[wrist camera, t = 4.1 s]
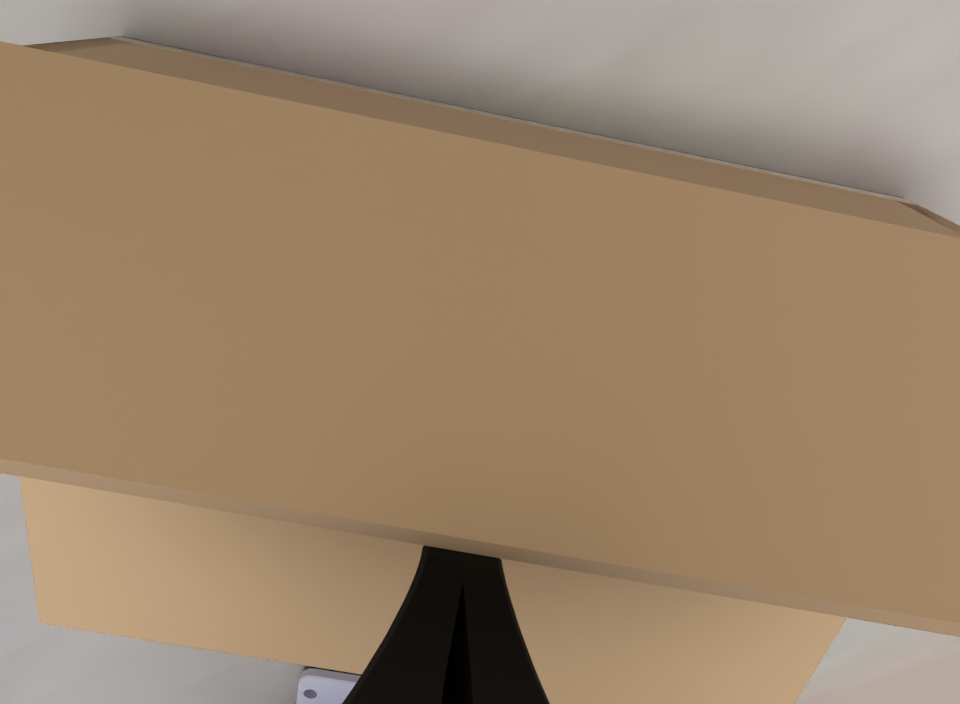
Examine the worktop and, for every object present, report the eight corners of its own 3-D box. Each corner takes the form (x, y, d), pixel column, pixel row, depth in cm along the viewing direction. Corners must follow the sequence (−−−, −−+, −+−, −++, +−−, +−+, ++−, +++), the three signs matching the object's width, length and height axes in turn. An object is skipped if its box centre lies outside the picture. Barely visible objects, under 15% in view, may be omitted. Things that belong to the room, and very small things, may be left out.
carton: (718, 589, 24) (772, 740, 19) (139, 490, 23) (39, 623, 18) (905, 199, 18) (1057, 274, 13) (120, 36, 17) (-40, 51, 12)
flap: (1143, 668, 10) (1201, 665, 9) (-269, 427, 9) (-325, 402, 8) (1032, 283, 13) (1068, 260, 13) (-21, 71, 12) (-44, 32, 12)
